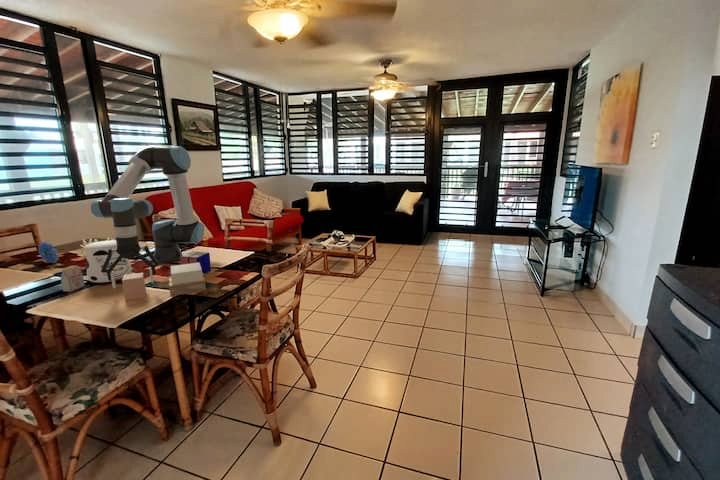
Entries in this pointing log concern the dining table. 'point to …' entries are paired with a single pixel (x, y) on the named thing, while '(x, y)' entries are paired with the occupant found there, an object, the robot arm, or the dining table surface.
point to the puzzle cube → (197, 260)
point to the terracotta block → (134, 286)
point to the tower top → (186, 273)
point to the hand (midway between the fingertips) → (133, 284)
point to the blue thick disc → (48, 252)
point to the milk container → (97, 258)
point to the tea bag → (72, 279)
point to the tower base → (186, 287)
